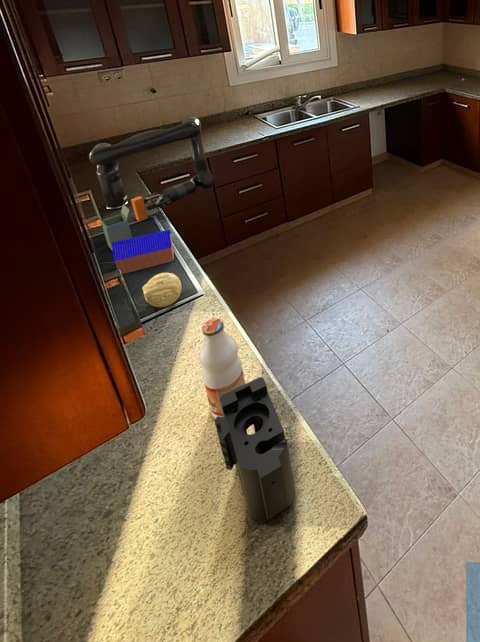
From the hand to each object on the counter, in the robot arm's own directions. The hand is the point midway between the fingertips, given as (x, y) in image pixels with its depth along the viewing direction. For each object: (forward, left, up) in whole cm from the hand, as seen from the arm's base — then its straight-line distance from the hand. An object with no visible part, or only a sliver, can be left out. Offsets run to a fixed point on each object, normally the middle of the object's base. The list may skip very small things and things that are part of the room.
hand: (142, 206), depth 206 cm
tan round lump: (+69, -16, -6) cm, 71 cm away
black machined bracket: (+150, -24, -6) cm, 152 cm away
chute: (+18, -16, -6) cm, 25 cm away
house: (+38, -12, -6) cm, 41 cm away
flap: (+18, -11, +9) cm, 23 cm away
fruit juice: (+125, -20, -6) cm, 127 cm away
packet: (0, -2, -6) cm, 6 cm away
